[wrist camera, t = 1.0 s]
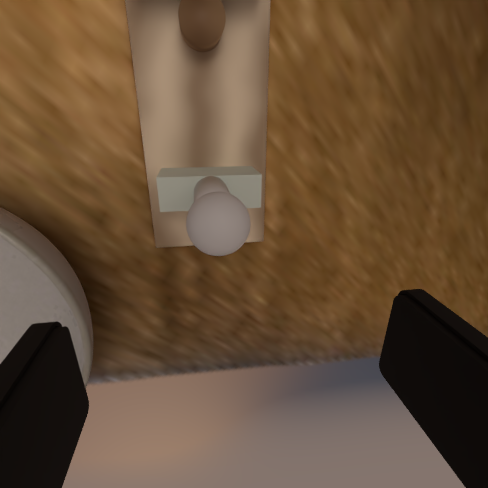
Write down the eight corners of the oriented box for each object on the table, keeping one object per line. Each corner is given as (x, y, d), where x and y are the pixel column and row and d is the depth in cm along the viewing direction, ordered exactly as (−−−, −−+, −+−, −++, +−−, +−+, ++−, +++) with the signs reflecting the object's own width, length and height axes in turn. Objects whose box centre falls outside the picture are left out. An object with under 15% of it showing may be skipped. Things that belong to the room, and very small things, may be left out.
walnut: (221, 2, 25) (225, -11, 23) (222, 52, 27) (226, 45, 24) (178, 0, 25) (176, -15, 22) (181, 51, 26) (180, 43, 23)
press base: (266, -44, 26) (290, -96, 20) (259, 234, 36) (274, 260, 30) (122, -56, 24) (97, -116, 18) (157, 240, 35) (150, 269, 28)
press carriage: (251, 160, 31) (300, 197, 17) (251, 199, 32) (295, 261, 18) (161, 162, 29) (133, 204, 16) (165, 202, 31) (143, 272, 17)
